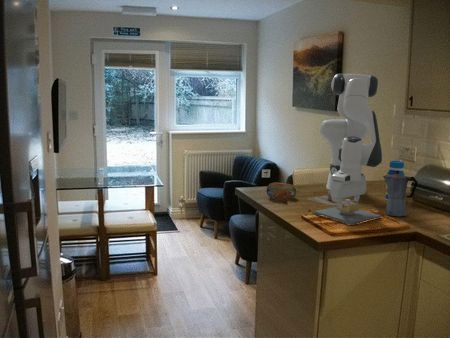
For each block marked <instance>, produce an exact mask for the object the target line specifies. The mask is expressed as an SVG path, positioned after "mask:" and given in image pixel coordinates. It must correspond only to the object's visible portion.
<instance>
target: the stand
mask: <svg viewBox="0 0 450 338" xmlns="http://www.w3.org/2000/svg"><path fill="white" fill-rule="evenodd" d="M330 192H331V190H327V194H326V195H320V196H315V197H308V198H307V200H309V201H312V202H316V203H319V204H323V205H327V206H330V207H336V206H337V199H335V198H332V197H331V194H330ZM345 200H346V198H343V200H342V201H345ZM352 201H353V200H351V202H352Z"/></svg>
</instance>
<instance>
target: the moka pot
mask: <svg viewBox="0 0 450 338" xmlns="http://www.w3.org/2000/svg"><path fill="white" fill-rule="evenodd" d="M404 175H405V174H404ZM404 175H400V174H399V171H398V170H397V171H396V174H393V175H387V174H386V175H383V176H382V177H383V179H384V181H385V184H386V185H387V190H388V201H387V200H386V201H387V203H386V208H385V215H387V216H389V217H391V216H392V217H407V207H406V206H407V205H406V198H407V199H411V198H413V196H414V194H415V191H416V189H417V187H418V184H419V182H418V180H417V179H416V178H415V176H407V175H405V176H404ZM409 182H414V184H413V187H412V188H411V189H412V190H411V192H410V194H409V195H407V190H408V183H409Z"/></svg>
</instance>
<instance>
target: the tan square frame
mask: <svg viewBox="0 0 450 338" xmlns="http://www.w3.org/2000/svg"><path fill="white" fill-rule="evenodd" d="M342 203H343V204H344V207H343V208H339V207H338V202H337V205H336V207H337V209H338V210H341V211H345V212H348V213H350V212H354V211H359V210H360V203H354V202H351V203H352V204H349V205H348V204H345V201H342Z"/></svg>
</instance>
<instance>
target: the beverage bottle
mask: <svg viewBox="0 0 450 338" xmlns="http://www.w3.org/2000/svg"><path fill="white" fill-rule="evenodd" d="M389 168H390V169H388V172H387V173H386V175H393V174H396V171H397V170H398V171H399V174H400V175H404V176H406V175H405V172H404V170H403V169H404V168H405V162H404V161H402V160H390V161H389ZM385 187H386V188H385V196H384V199H385V200H386V201H388V190H387V184H386V186H385Z"/></svg>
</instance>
